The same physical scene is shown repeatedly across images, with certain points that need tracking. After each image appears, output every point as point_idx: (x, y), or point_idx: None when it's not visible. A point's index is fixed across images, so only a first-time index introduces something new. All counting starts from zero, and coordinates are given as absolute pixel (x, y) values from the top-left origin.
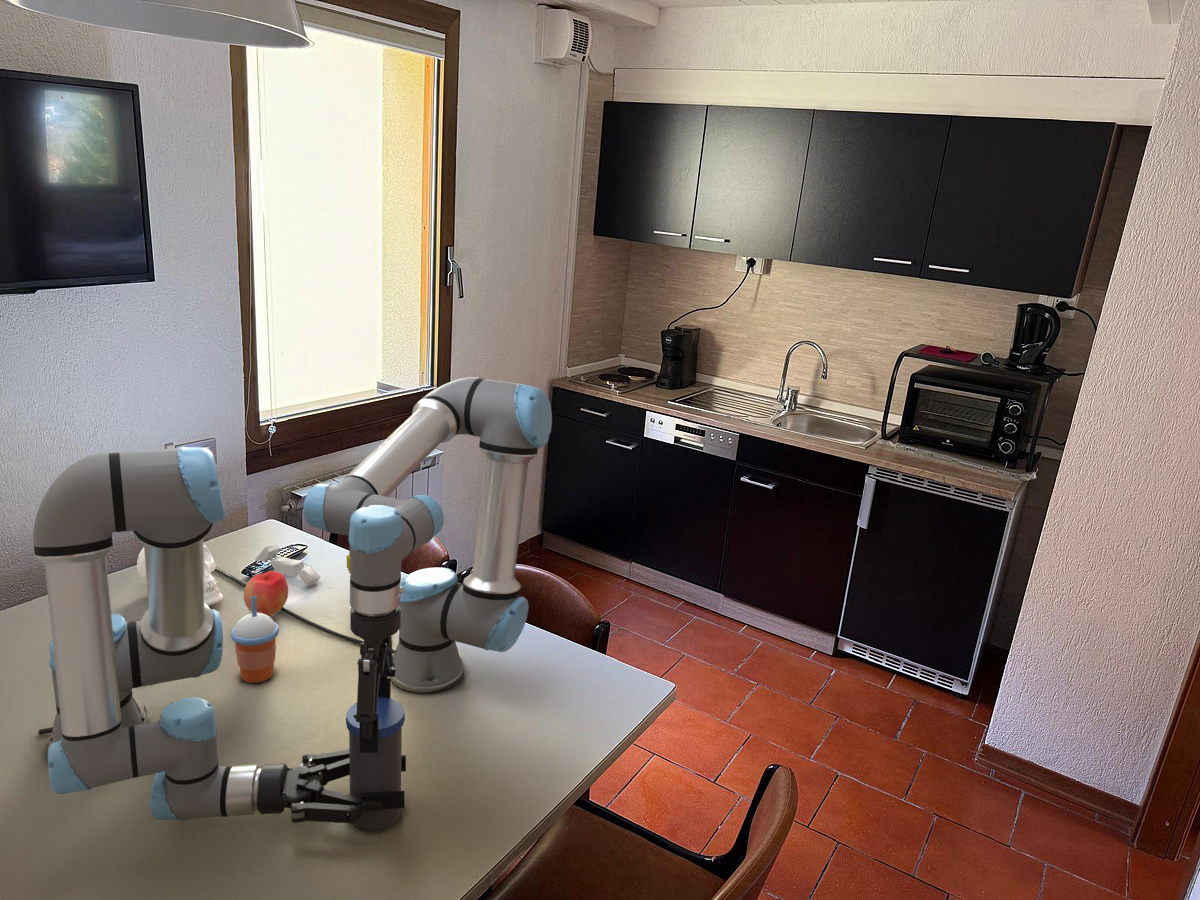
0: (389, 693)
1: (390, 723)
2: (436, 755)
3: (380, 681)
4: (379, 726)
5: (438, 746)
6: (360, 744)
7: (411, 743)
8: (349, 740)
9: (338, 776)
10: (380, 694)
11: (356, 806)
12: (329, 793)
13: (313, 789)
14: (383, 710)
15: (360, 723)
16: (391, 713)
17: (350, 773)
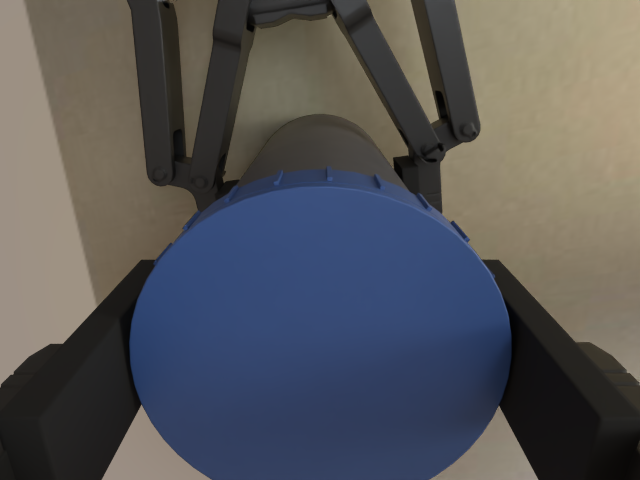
0: (516, 435)
1: (217, 463)
2: (541, 291)
3: (578, 466)
4: (178, 415)
5: (579, 291)
6: (122, 284)
7: (604, 222)
8: (272, 171)
9: (365, 71)
10: (519, 378)
11: (184, 179)
12: (219, 76)
13: (217, 10)
14: (350, 408)
15: (42, 374)
16: (320, 452)
17: (275, 146)
